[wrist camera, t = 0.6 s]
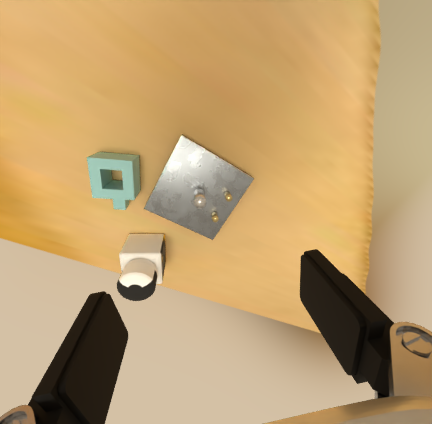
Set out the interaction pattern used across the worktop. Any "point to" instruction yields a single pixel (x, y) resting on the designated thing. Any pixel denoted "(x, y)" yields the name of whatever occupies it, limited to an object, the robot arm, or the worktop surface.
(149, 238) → the medicine bottle
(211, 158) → the post base
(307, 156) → the worktop surface
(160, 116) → the worktop surface
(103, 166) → the teal hollow square block
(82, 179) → the worktop surface
